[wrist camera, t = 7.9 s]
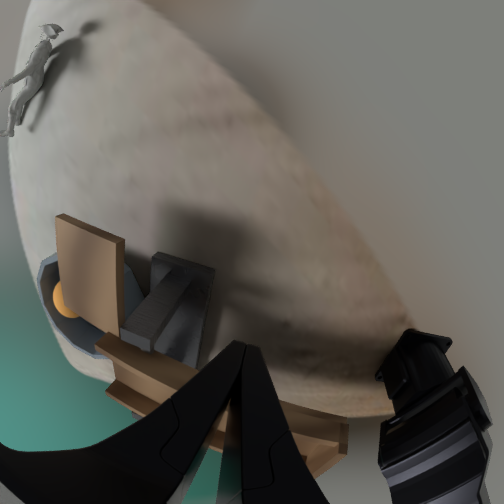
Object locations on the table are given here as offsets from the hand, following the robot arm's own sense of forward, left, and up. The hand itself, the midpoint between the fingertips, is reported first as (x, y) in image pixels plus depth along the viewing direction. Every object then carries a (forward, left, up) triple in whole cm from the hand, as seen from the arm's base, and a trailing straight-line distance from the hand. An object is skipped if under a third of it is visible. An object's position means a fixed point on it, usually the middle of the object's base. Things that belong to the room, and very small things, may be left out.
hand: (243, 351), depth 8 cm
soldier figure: (+26, -10, -12) cm, 31 cm away
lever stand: (+6, +11, -12) cm, 17 cm away
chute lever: (+3, +7, -5) cm, 10 cm away
